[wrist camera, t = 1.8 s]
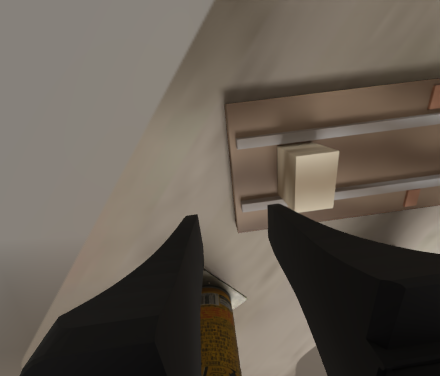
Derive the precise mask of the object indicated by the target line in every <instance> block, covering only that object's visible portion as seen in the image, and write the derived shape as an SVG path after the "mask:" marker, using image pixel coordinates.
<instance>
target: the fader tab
mask: <svg viewBox="0 0 440 376" xmlns="http://www.w3.org/2000/svg"><path fill="white" fill-rule="evenodd" d="M277 154H278V194H279V196H280V197H281V198H282V199H283V200H284V202H285V203H286V204H287V205H288V206H289V207H290V209H292V210H294V211H296V212H298V213H300V212H308V211H315V210H322V209H330V208H333V205H334V196H335V186H336V177H337V168H338V159H339V151H338V150H335V149H332V148H329V147H326V146H323V145H320V144H316V143H313V142H308V143H301V144H293V145H285V146H277Z"/></svg>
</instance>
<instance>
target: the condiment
mask: <svg viewBox="0 0 440 376" xmlns="http://www.w3.org/2000/svg"><path fill="white" fill-rule="evenodd" d="M246 300H247V299H246V298H245V297H243V296H242V295H241V294H239V293H238V292H237V291H235V290H234V289H232V288H231V287H229V286H228V285H226V284H224V283H223V282H221V281H219V280H218V279H217V278H215V277H214V276H212V275H211V274H210V273H208V272H206V271H204V270H203V281H202V293H201V307H200V333H201V374H202V376H242V375H241V369H240V361H239V355H238V347H237V340H236V333H235V325H234V318H233V309H234V308H236V307H237V306H239V305H240V304H242V303H243V302H244V301H246Z"/></svg>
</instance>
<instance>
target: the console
mask: <svg viewBox="0 0 440 376" xmlns="http://www.w3.org/2000/svg"><path fill="white" fill-rule="evenodd" d="M224 105H225V115H226V126H227V136H228V146H229V157H230V167H231V178H232V188H233V199H234V209H235V219H236V227H237V230H238V233H242V232H249V231H257V230H264V229H268V209H267V205H271V204H278V203H279V204H282V205H284V206H286V207H288V208H290V207H289V206H288V205H287V204H286V203H285V202H284V200H283V199H282V198H281V197H280V196H279V194H278V154H277V146H285V145H293V144H301V143H308V142H313V143H316V144H320V145H323V146H326V147H329V148H332V149H335V150H338V151H339V159H338V168H337V177H336V186H335V196H334V205H333V208H330V209H322V210H315V211H308V212H300V214H302V215H304V216H306V217H308V218H310V219H312V220H314V221H316V222H322V221H329V220H336V219H343V218H351V217H358V216H365V215H372V214H379V213H387V212H394V211H401V210H408V209H416V208H423V207H430V206H437V205H440V78H438V79H430V80H421V81H413V82H405V83H396V84H388V85H380V86H372V87H363V88H355V89H347V90H338V91H330V92H322V93H314V94H305V95H297V96H289V97H280V98H272V99H264V100H256V101H247V102H239V103H231V104H224Z"/></svg>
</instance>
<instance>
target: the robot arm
mask: <svg viewBox="0 0 440 376" xmlns="http://www.w3.org/2000/svg"><path fill="white" fill-rule="evenodd" d="M267 209H268V238H269V241H270V244H271V246H272V249H273V252H274V254H275V256H276V258H277V260H278V262H279V264H280V266H281V268H282V269H283V271H284V273H285V275H286V277H287V279H288V281H289V283H290V284H291V286H292V288H293V290H294V292H295V294H296V296H297V298H298V301H299V303H300V305H301V308H302V310H303V313H304V315H305V318H306V320H307V323H308V325H309V328H310V330H311V333H312V335H313V338H314V340H315V343H316V346H317V348H318V351H319V354H320V356H321V359H322V362H323V365H324V367H325V370H326V372H327V375H328V376H440V254H435V253H429V252H422V251H416V250H411V249H406V248H401V247H396V246H391V245H387V244H383V243H378V242H375V241H371V240H367V239H363V238H360V237H357V236H353V235H350V234H347V233H344V232H341V231H339V230H336V229H333V228H330V227H328V226H326V225H323V224H321V223H319V222H316V221H314V220H312V219H310V218H308V217H306V216H304V215H302V214H300V213H298V212H296V211H294V210H292V209H290V208H288V207H286V206H284V205H282V204H279V203H278V204H271V205H267ZM203 268H204V255H203V243H202V237H201V232H200V226H199V220H198V214H197V215H189V216H186V217H185V218H184V219H183V220H182V222H181V223H180V224H179V226H178V227H177V228H176V230H175V231H174V232H173V233H172V235H171V236H170V237H169V238H168V239H167V240H166V242H165V243H164V244H163V245H162V246H161V247H160V248H159V249H158V250H157V251H156V252H155V253H154V254H153V255H152V256H151V257H150V258H149V259H147V260H146V261H145V262H144V263H143V264H142V265H140V266H139V267H138V268H136V269H135V270H134V271H133V272H131V273H130V274H129V275H127V276H126V277H125V278H123V279H122V280H120V281H119V282H118V283H116V284H115V285H113V286H112V287H110V288H108V289H107V290H105V291H104V292H102V293H101V294H99V295H97V296H96V297H94V298H92V299H90V300H89V301H87V302H85V303H83V304H81V305H80V306H78V307H76V308H74V309H72V310H71V311H69V312H67V313H65V314H63V315H61V316H59V317H58V319H57V320H56V321H55V323H54V324H53V326H52V327H51V329H50V330H49V331H48V333H47V334H46V336H45V337H44V339H43V340H42V342H41V343H40V345H39V346H38V347H37V349H36V350H35V352H34V353H33V355H32V356H31V358H30V359H29V360H28V362H27V363H26V365H25V366H24V368H23V369H22V372H21V374H20V376H202V374H201V333H200V307H201V293H202V281H203Z"/></svg>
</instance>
